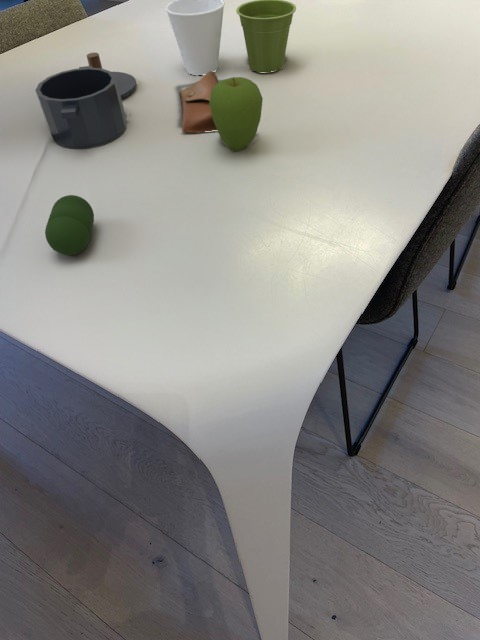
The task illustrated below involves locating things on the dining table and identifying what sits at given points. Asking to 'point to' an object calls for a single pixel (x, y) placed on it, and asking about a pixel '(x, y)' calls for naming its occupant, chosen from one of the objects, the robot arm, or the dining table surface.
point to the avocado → (69, 225)
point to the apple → (236, 111)
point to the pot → (82, 107)
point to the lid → (123, 79)
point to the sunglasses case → (198, 105)
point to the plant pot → (266, 32)
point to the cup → (197, 32)
